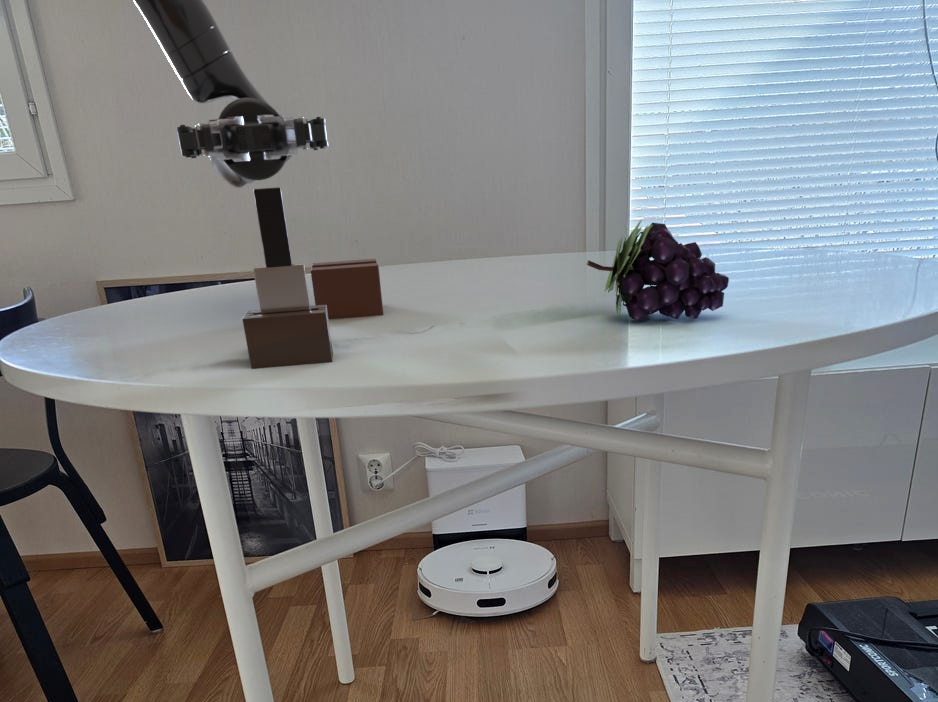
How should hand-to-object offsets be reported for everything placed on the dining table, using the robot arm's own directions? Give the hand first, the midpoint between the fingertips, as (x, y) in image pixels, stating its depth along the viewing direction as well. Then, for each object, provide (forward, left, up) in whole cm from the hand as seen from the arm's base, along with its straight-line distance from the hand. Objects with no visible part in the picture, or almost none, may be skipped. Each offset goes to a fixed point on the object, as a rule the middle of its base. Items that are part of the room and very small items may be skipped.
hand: (255, 134), depth 79 cm
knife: (-4, -10, -18) cm, 21 cm away
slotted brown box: (+10, +6, -19) cm, 22 cm away
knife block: (-4, -10, -19) cm, 22 cm away
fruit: (+35, -17, -19) cm, 44 cm away
